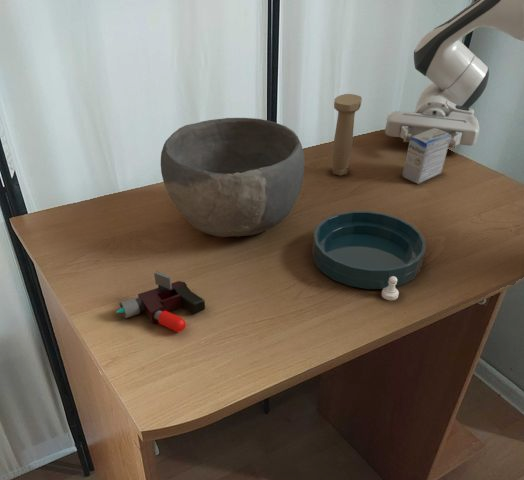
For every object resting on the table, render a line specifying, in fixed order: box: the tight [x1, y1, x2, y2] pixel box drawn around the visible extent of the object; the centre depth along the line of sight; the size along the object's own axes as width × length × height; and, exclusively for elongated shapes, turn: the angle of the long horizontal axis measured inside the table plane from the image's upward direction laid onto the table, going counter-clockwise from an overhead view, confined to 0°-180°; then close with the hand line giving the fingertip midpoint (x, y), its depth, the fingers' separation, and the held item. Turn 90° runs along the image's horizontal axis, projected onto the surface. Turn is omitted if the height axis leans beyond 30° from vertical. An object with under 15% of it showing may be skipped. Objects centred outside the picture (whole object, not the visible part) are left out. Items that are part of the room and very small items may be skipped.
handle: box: [331, 93, 363, 177], centre depth 109 cm, size 5×6×15 cm
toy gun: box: [115, 271, 206, 333], centre depth 77 cm, size 10×12×5 cm
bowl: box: [160, 117, 305, 238], centre depth 94 cm, size 24×24×15 cm
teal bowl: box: [311, 210, 427, 290], centre depth 89 cm, size 18×18×4 cm
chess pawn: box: [381, 276, 400, 301], centre depth 82 cm, size 3×3×4 cm
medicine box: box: [402, 128, 451, 185], centre depth 111 cm, size 8×4×9 cm, turn 130°
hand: (429, 141), depth 116 cm, fingers open, 8 cm apart
